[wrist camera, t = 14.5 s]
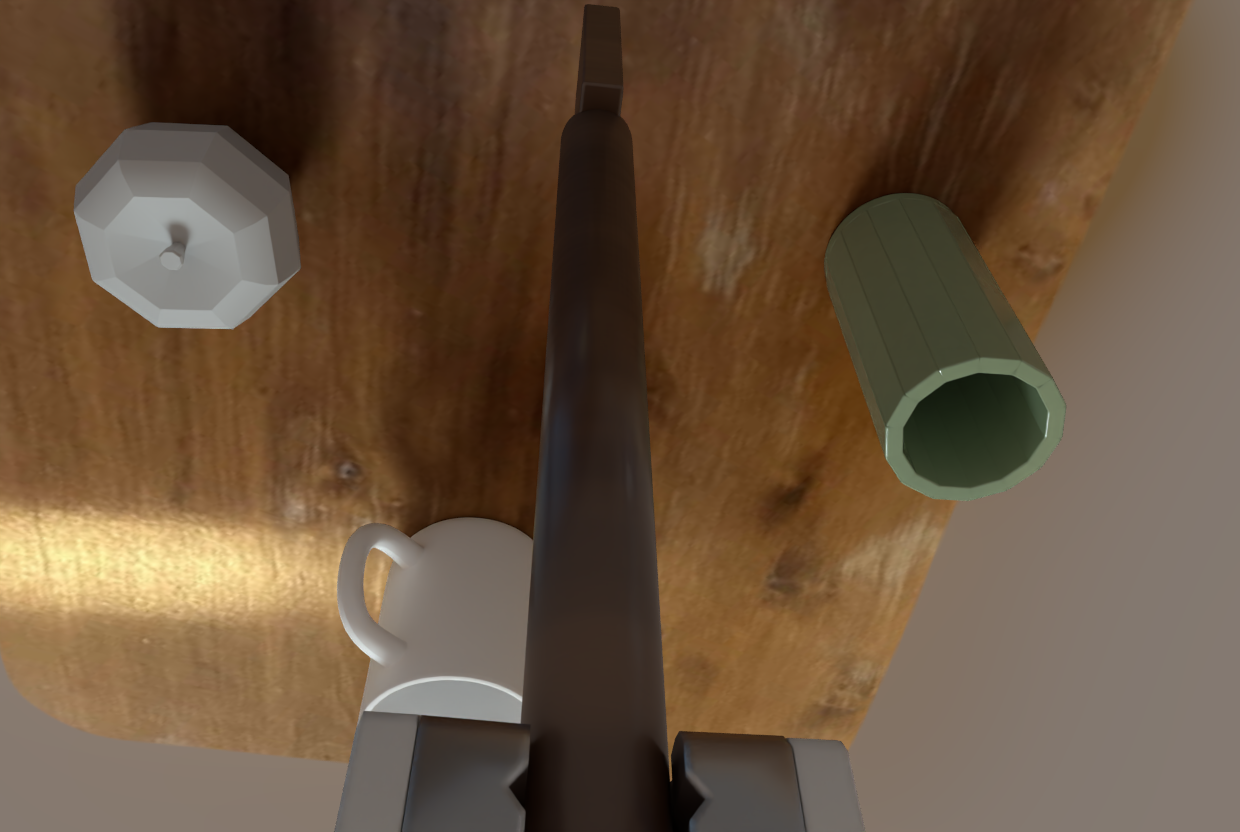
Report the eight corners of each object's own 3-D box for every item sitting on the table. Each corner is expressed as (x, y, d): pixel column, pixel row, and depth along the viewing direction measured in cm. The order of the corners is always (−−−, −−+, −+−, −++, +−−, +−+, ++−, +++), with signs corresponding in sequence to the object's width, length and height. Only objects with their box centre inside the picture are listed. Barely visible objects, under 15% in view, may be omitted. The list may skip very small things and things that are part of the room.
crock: (838, 186, 45) (908, 351, 35) (984, 198, 45) (1093, 365, 35) (809, 312, 48) (865, 495, 38) (945, 322, 48) (1034, 505, 39)
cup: (465, 654, 60) (445, 822, 52) (300, 517, 54) (249, 683, 46) (589, 585, 57) (589, 752, 49) (430, 434, 51) (400, 595, 43)
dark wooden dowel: (571, 1, 25) (487, 1264, 6) (633, 8, 26) (734, 1271, 6) (562, 103, 27) (472, 1392, 8) (621, 110, 27) (674, 1394, 8)
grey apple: (351, 131, 43) (317, 208, 38) (295, 296, 47) (258, 386, 42) (135, 44, 41) (67, 112, 35) (97, 225, 45) (31, 310, 40)
